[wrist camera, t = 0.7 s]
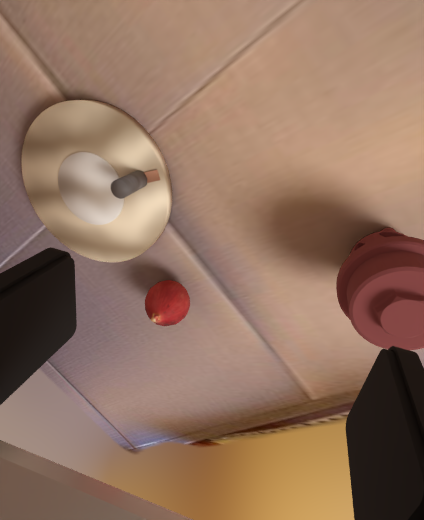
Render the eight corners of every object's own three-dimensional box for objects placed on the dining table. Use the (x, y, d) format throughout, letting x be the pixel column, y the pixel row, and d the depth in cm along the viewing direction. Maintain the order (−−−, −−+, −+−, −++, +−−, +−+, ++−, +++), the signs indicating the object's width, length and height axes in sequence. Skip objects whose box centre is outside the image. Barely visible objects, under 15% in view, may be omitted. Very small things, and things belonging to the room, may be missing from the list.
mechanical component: (444, 277, 37) (351, 303, 41) (416, 196, 34) (320, 232, 38) (495, 353, 26) (363, 376, 31) (461, 244, 24) (321, 286, 28)
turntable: (5, 123, 43) (-41, 128, 37) (141, 77, 36) (108, 75, 30) (69, 264, 50) (38, 285, 45) (191, 247, 43) (172, 271, 38)
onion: (203, 302, 47) (184, 338, 40) (168, 308, 50) (144, 344, 43) (187, 266, 45) (164, 297, 38) (152, 274, 48) (124, 306, 41)
